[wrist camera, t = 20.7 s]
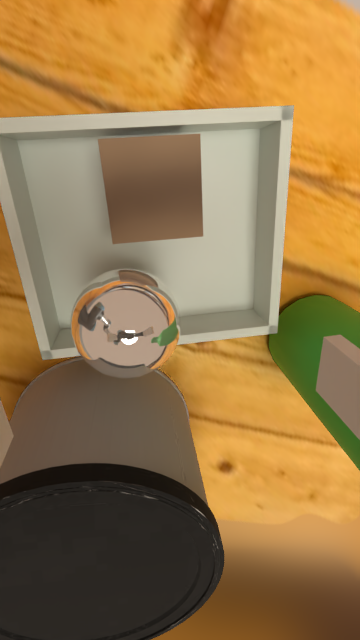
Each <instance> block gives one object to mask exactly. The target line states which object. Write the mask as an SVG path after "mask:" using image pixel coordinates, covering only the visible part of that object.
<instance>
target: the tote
mask: <svg viewBox="0 0 360 640" xmlns="http://www.w3.org/2000/svg"><path fill="white" fill-rule="evenodd" d="M293 112H294V106H270V107H246V108H223V109H199V110H175V111H151V112H127V113H104V114H80V115H56V116H32V117H8V118H0V203H1V206H2V210H3V214H4V218H5V221H6V225H7V229H8V233H9V236H10V240H11V244H12V248H13V251H14V255H15V259H16V263H17V266H18V270H19V274H20V278H21V281H22V285H23V289H24V293H25V296H26V300H27V304H28V308H29V311H30V315H31V319H32V323H33V326H34V330H35V334H36V338H37V341H38V345H39V349H40V353H41V356H42V360H48V359H56V358H65V357H74V356H81V355H80V354H79V353H78V351H77V349H76V347H75V345H74V342H73V338H72V334H71V330H70V319H71V313H72V309H73V305H74V303H75V300H76V298H77V296H78V295H79V293H80V292H81V291H82V290H83V288H84V287H85V286H86V285H87V284H88V283H89V282H90V281H91V280H93V279H94V278H95V277H97V276H99V275H101V274H102V273H105V272H108V271H111V270H115V269H124V268H127V269H137V270H140V271H144V272H147V273H149V274H151V275H153V276H155V277H157V278H158V279H159V280H160V281H162V282H163V283H164V284H165V285H166V286H167V287H168V288H169V290H170V291H171V292H172V294H173V295H174V297H175V299H176V301H177V303H178V306H179V309H180V315H181V333H180V337H179V340H178V343H177V345H179V344H188V343H196V342H205V341H214V340H223V339H231V338H240V337H249V336H257V335H266V334H275V333H277V330H278V316H279V302H280V289H281V275H282V262H283V248H284V234H285V221H286V207H287V193H288V180H289V166H290V152H291V139H292V125H293ZM182 134H200V140H201V174H202V208H203V237H191V238H180V239H168V240H156V241H144V242H132V243H120V244H113V243H112V236H111V229H110V222H109V215H108V208H107V201H106V194H105V187H104V180H103V173H102V166H101V159H100V152H99V145H98V139H106V138H125V137H144V136H163V135H182Z"/></svg>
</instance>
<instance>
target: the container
mask: <svg viewBox="0 0 360 640" xmlns="http://www.w3.org/2000/svg"><path fill="white" fill-rule="evenodd" d="M9 424H10V427H11V430H12V433H13V435H14V436H13V439H12V441H11V444H10V446H9V448H8V451H7V453H6V456H5V458H4V460H3V463H2V465H1V468H0V640H150V639H153V638H155V637H157V636H160V635H161V634H163V633H165V632H167V631H169V630H171V629H173V628H174V627H176V626H177V625H179V624H181V623H182V622H184V621H185V620H186V619H188V618H189V617H190V616H192V614H194V613H195V612H196V611H197V610H198V609H200V608H201V607H202V606H203V604H204V603H205V602H206V601H207V600H208V599H209V597H210V596H211V595H212V593H213V592H214V590H215V589H216V587H217V585H218V583H219V581H220V578H221V575H222V571H223V567H224V550H223V545H222V541H221V537H220V533H219V529H218V525H217V522H216V519H215V517H214V515H213V513H212V512H211V510H210V508H209V507H208V503H207V499H206V494H205V490H204V486H203V481H202V477H201V473H200V468H199V464H198V460H197V455H196V451H195V447H194V442H193V438H192V434H191V429H190V425H189V414H188V409H187V405H186V403H185V400H184V398H183V396H182V394H181V392H180V390H179V389H178V388H177V386H176V385H175V384H174V383H173V382H172V380H171V379H170V378H169V377H167V376H166V375H165V374H164V373H162V372H161V371H160V370H158V369H156V370H155V371H153V372H151V373H149V374H147V375H144V376H141V377H137V378H130V379H124V378H115V377H110V376H108V375H105V374H102V373H100V372H99V371H97V370H95V369H94V368H93V367H91V366H90V365H89V364H88V363H87V362H86V361H85V360H84V359H83V358H82V357H81V356H80V357H75V358H72V359H69V360H66V361H63V362H61V363H58V364H56V365H54V366H52V367H50V368H49V369H47V370H45V371H44V372H42V373H41V374H40V375H38V376H37V377H36V378H35V379H34V380H33V381H32V382H31V383H30V384H29V385H28V386H27V387H26V388H25V390H24V391H23V393H22V394H21V396H20V398H19V400H18V402H17V404H16V406H15V409H14V413H13V416H12V418H11V419H10V421H9Z"/></svg>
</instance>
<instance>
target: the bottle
mask: <svg viewBox="0 0 360 640" xmlns="http://www.w3.org/2000/svg"><path fill="white" fill-rule="evenodd" d="M334 335H342V336H343V337H344V338H346V339H347V340H348V341H350V342H351V343H353V344H354V345H355V346H357V347H358V348H359V349H360V313H359V312H357V311H356V310H354V309H352V308H351V307H349V306H347V305H345V304H344V303H342V302H340V301H338V300H336V299H334V298H332V297H330V296H323V295H313V296H309V297H306V298H302V299H299V300H297V301H296V302H294V303H293V304H291V305H290V306H288V307H287V308H285V310H284V311H283V312H282V313H281V314H280V315H279V317H278V330H277V333H275V334H269V350H270V353H271V355H272V358H273V360H274V361H275V363H276V364H277V365H278V366H279V368H280V369H281V370H282V372H283V373H284V374H285V376H286V377H287V378H288V379H289V381H290V382H291V383H292V385H293V386H294V387H295V389H296V390H297V391H298V393H299V394H300V395H301V396H302V398H303V399H304V400H305V402H306V403H307V404H308V405H309V407H310V408H311V409H312V411H313V412H314V413H315V414H316V416H317V417H318V418H319V419H320V421H321V422H322V423H323V425H324V426H325V427H326V428H327V430H328V431H329V432H330V433H331V435H332V436H333V437H334V438H335V440H336V441H337V442H338V444H339V445H340V446H341V447H342V449H343V450H344V451H345V452H346V454H347V455H348V456H349V458H350V459H351V460H352V461H353V463H354V464H355V465H356V466H357V468H358V469H359V470H360V440H359V439H358V438H357V437H356V435H355V434H354V433H353V432H352V431H351V430H350V429H349V427H348V426H347V425H346V424H345V423H344V422H343V421H342V420H341V418H340V417H339V416H338V415H337V414H336V413H335V412H334V411H333V409H332V408H331V407H330V406H329V405H328V404H327V403H326V401H325V400H324V399H323V398H322V397H321V396H320V395H319V394H318V392H317V391H316V384H317V378H318V371H319V365H320V358H321V351H322V345H323V338H324V337H326V336H334Z"/></svg>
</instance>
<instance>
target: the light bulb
mask: <svg viewBox="0 0 360 640" xmlns="http://www.w3.org/2000/svg"><path fill="white" fill-rule="evenodd" d="M70 330H71V334H72V338H73V342H74V345H75V347H76V349H77V351H78V353H79V354H80V355H81V357H82V358H83V359H84V360H85V361H86V362H87V363H88V364H89V365H90V366H91V367H93V368H94V369H95V370H97V371H99V372H100V373H102V374H105V375H108V376H110V377H115V378H124V379H130V378H137V377H141V376H144V375H147V374H149V373H151V372H153V371H155V370H156V369H157V368H159V367H160V366H161V365H163V364H164V363H165V362H166V361H167V360H168V359H169V357H170V356H171V355H172V353H173V352H174V350H175V348H176V346H177V343H178V340H179V337H180V333H181V315H180V309H179V306H178V303H177V301H176V299H175V297H174V295H173V294H172V292H171V291H170V290H169V288H168V287H167V286H166V285H165V284H164V283H163V282H162V281H160V280H159V279H158V278H157V277H155V276H153V275H151V274H149V273H147V272H144V271H140V270H137V269H127V268H124V269H115V270H111V271H108V272H105V273H102V274H101V275H99V276H97V277H95V278H94V279H93V280H91V281H90V282H89V283H88V284H87V285H86V286H85V287H84V288H83V290H82V291H81V292H80V293H79V295H78V296H77V298H76V300H75V303H74V305H73V309H72V313H71V319H70Z"/></svg>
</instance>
